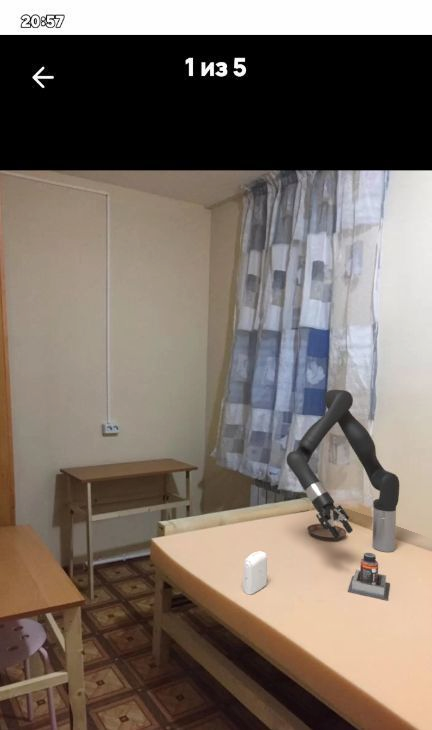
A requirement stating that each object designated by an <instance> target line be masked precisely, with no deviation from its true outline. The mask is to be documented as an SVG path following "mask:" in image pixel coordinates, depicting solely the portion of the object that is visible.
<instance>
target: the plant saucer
mask: <svg viewBox="0 0 432 730" xmlns="http://www.w3.org/2000/svg"><path fill="white" fill-rule="evenodd" d="M324 524H325V523H324ZM325 525H326V524H325ZM333 525H334V526H333V527H335V528H336V530H337V531H338V533H339V534H340V536H339V537H338V538H335V537H334V536H333V535H332V533H331V532H330V530H328V529H324V528H323V527H322V525H321V523H315V524H310V525H308V526H307V527H306V530H307V532H308V534H309V535H310V536H311V537H312V538H314V539H315V540H319V541H322V542H339V541H341V540H343V539H344V537H346V535H347V531H346V529H345V528H344V527H341V526H338V525H335V524H333Z"/></svg>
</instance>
